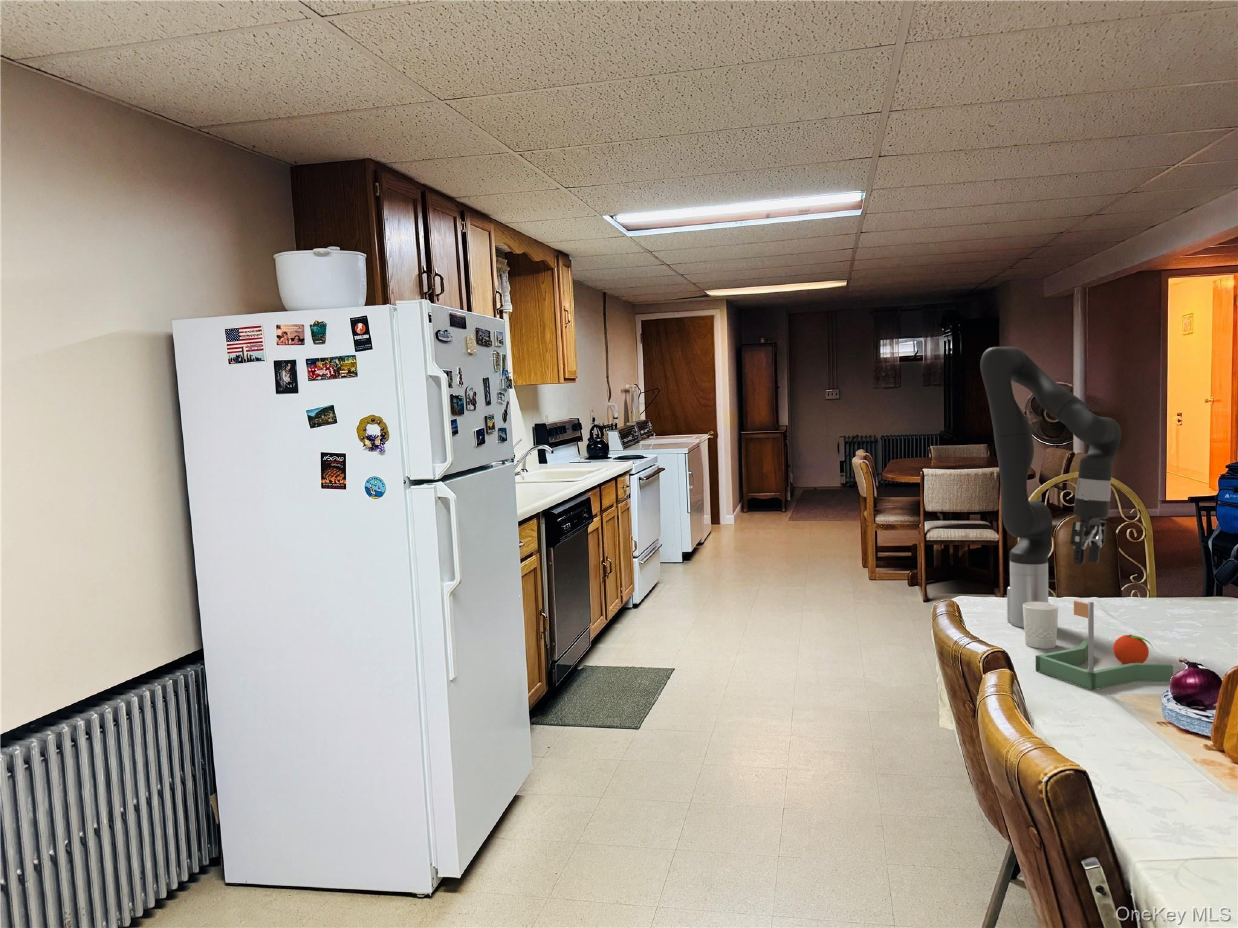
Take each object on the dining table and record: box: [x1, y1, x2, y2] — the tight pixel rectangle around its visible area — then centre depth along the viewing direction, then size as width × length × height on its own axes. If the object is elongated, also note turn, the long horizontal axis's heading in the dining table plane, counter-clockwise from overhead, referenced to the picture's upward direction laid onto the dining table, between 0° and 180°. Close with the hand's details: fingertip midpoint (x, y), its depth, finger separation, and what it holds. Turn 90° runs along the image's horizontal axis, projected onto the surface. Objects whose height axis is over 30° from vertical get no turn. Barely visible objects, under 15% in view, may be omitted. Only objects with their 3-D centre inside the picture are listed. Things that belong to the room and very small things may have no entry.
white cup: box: [1023, 602, 1059, 650], centre depth 207 cm, size 8×8×10 cm
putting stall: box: [1035, 600, 1174, 691], centre depth 185 cm, size 22×20×18 cm
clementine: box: [1112, 634, 1155, 665], centre depth 189 cm, size 8×7×7 cm
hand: (1086, 563), depth 207 cm, fingers open, 8 cm apart
